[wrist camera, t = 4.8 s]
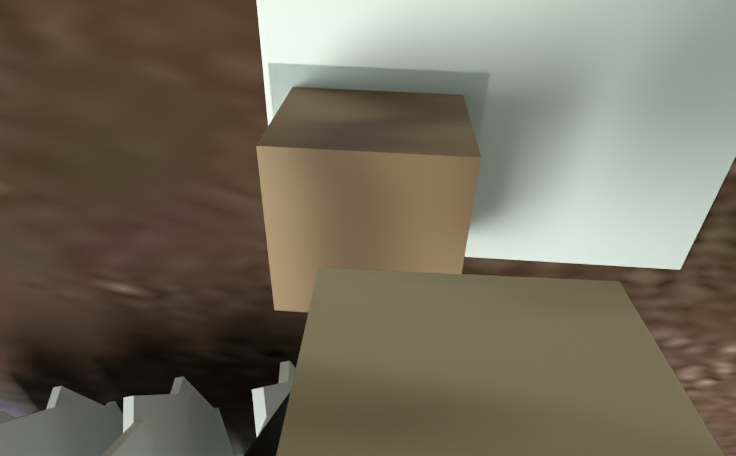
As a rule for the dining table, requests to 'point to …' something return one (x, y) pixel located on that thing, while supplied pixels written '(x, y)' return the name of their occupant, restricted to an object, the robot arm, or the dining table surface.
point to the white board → (546, 109)
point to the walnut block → (365, 185)
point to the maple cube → (482, 371)
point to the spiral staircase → (134, 423)
